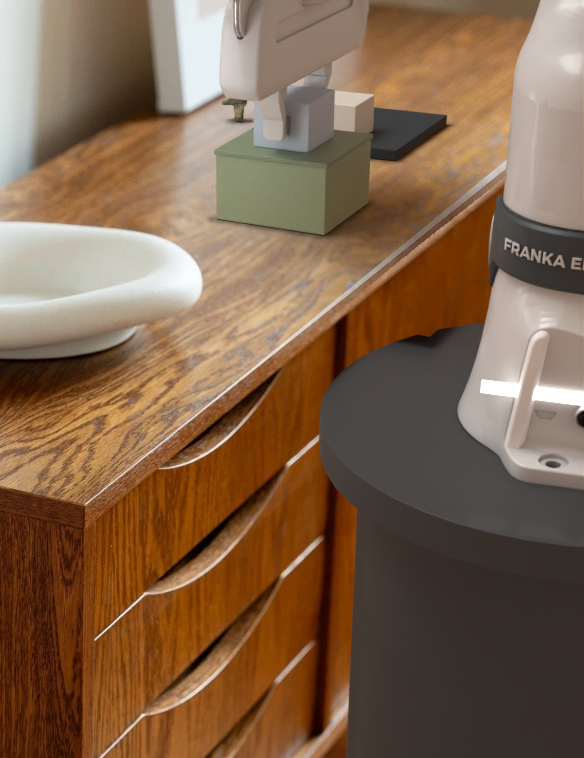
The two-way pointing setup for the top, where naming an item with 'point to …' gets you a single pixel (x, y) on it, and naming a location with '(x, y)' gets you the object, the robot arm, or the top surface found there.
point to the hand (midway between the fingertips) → (294, 128)
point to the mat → (401, 131)
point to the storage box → (293, 182)
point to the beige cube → (354, 112)
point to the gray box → (302, 120)
